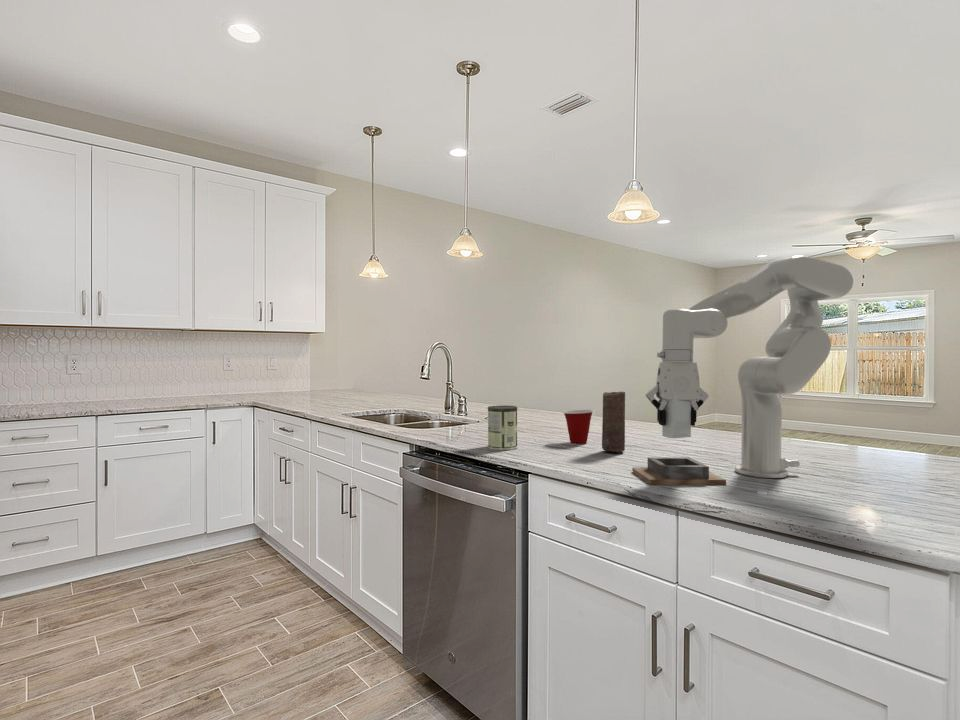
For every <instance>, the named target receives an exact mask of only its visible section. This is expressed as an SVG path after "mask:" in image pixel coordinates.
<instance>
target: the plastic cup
mask: <svg viewBox="0 0 960 720" xmlns="http://www.w3.org/2000/svg"><path fill="white" fill-rule="evenodd" d="M593 412H594V410H592V409H575V410H565V411H563V412H562V413H563V415H564V417H565V421H566V426H567V432H568V433H567V434H568V437H569V442H570V444H572V443H573V445H586V444H587V442H588V438H589V432H590V427H591V420H592V416H593Z"/></svg>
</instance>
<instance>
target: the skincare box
mask: <svg viewBox="0 0 960 720" xmlns="http://www.w3.org/2000/svg"><path fill="white" fill-rule="evenodd" d="M664 410H665V411H666V425H665V426H662V425H661V426H662V427H661V428H662V432H661V434H662V435H661V436H662V437H665V438H668V439H684V438H690V437H692V426H691V403H690V401H679V400H677V393H676V392H673V400H672V401H668V402H667V404H666V406H665V407H664Z"/></svg>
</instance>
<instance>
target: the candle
mask: <svg viewBox="0 0 960 720" xmlns="http://www.w3.org/2000/svg"><path fill="white" fill-rule="evenodd" d="M601 425H602V426H601V427H602V429H601V431H602V433H601V448H602V450H603V451H605V453H619V452H620V453H621V452H625V451H626V391H611V392H608V391H606V392H603V393H602V424H601Z"/></svg>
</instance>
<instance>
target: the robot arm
mask: <svg viewBox="0 0 960 720" xmlns="http://www.w3.org/2000/svg"><path fill="white" fill-rule="evenodd" d="M853 286H854V278H853V275H852V272H851V271H850V270H849V269H848V268H846V267H845V266H843V265H841V264H838V263H837V264H836V263H834V262H830V261H826V260H823V259H821V258H820V259H819V258H817V257H812V256H809V255H808V256H807V255H793V256H788V257H784V258H778V259H776V260H772V261H769V262H767V263H766V264H764V265H763V266H761V267H759V268H758V269H756V270H754V272H751V273H750V274H748V275H747V276H745V277H744V278H742V279H741V280H740V281H737V282H736V283H734V284H732V285H731V286H728V287H727V288H724V289H722V290H720V291H718V292H717V293H714V294H713V295H710V296H708V297H707V298H705V299H703V300H701V301H699V302H697V303H695V304H694V305H692V306H690V308H687V309H685V308H676V309H675V308H674V309H667V310H666V311H664V312H663V315H662V345H661V346H662V349H661V351H659V352H657V353H656V357H657V358H660V360H661V361H659V364H658V369H657V374H656V382H655V383H656V384H655V386H654V387H652V388H651V389H650V390H649V391H648V392H647V393H646V394H645V397H646V398H647V399H648V401H650V403H651V404H652V406H653V407H655V409H656V410H657V412H656V414H657V416H656V421H657V422H658V425H660V426H665V425H666V411H665V410H664V407H665V406H666V404H667V402H668V401H672V400H673V392H676V393H677V400H679V401H690V403H691V427H692V426H693V427H695V426H696V423H697V414H698V413H697V411H698V410H699V408H701V406H702V405H704V402H706V400H707V399H708V398H709V394H707V392H706V391H704V389H703V388H701V385H700V384H701V383H700V376H699V375H700V374H699V368H698V363H697V362H694V339H712V338H716V337H717V338H718V337H719V336H721V335H723V333H724V332H725V331H726V330H727V327H728V325H729V324H728V319H729V318H732V317H733V318H734V317H736V316H741V315H744V314H748V313H751V312H753V311H755V310H756V309H758V308H759V307H761V306H762V305H764V304H766V303H767V302H768V301H770V300H772V299H773V298H774V297H775V296H777V295H779V294H781V293H782V292H784V291H787V296H788V300H789V303H790V304H789V305H790V309H789V312H788V314H787V316H786V317H785V318H784V320H783V321H782V322H781V323H780V325H779V326H778V327H777V328H776V330H775V331H774V332H773V333H772V335H771V336H770V337H769V339H768V340H767V342H766V344H765V354H766V355H767V356H755V357H750V358H748V359H746V360H744V361H743V362H742V363H741V365H740V366H739V368H738V373H737V378H738V379H737V380H738V385H739V390H740V396H741V445H740V447H741V449H740V451H741V458H740V459H741V461H740V463H741V464H737V465H736V466H735V467H734V471H735V472H736V473H738V474H741V475H743V476H749V477H754V478H763V479H764V478H765V479H780V478H781V479H782V478H786V477H788V475H789V474H788V473H789V472H788V470H787V469H789V468H800V461H799V460H798V459H787V458H785V457H782V417H783V412H782V409H783V408H782V403H781V401H780V399H779V396H778V394H779V395H793V394H796V393H798V392H800V391H801V390H802V389H804V387H805V386H806V385H807V384H808V383H809V382H810V380H812V378H813V376H815V374H816V373H817V372H818V370H820V368H821V367H822V365H823V364H824V363H825V361H826V360H827V359H828V356H829V354H830V353H831V352H830V351H831V345H832V343H831V339H830V335H829V334H828V333H827V331H825V330H824V329H821V327H822V325H823V322H824V319H823V314H822V312H821V307H820V305H819V302H818V301H824V300H833V299H839V298H843V297H844V296H846V295H848V294H849V293H850V291H851V290H852V289H853ZM655 395H656V397H655ZM656 398H657V399H658V400H657V399H656Z"/></svg>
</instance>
